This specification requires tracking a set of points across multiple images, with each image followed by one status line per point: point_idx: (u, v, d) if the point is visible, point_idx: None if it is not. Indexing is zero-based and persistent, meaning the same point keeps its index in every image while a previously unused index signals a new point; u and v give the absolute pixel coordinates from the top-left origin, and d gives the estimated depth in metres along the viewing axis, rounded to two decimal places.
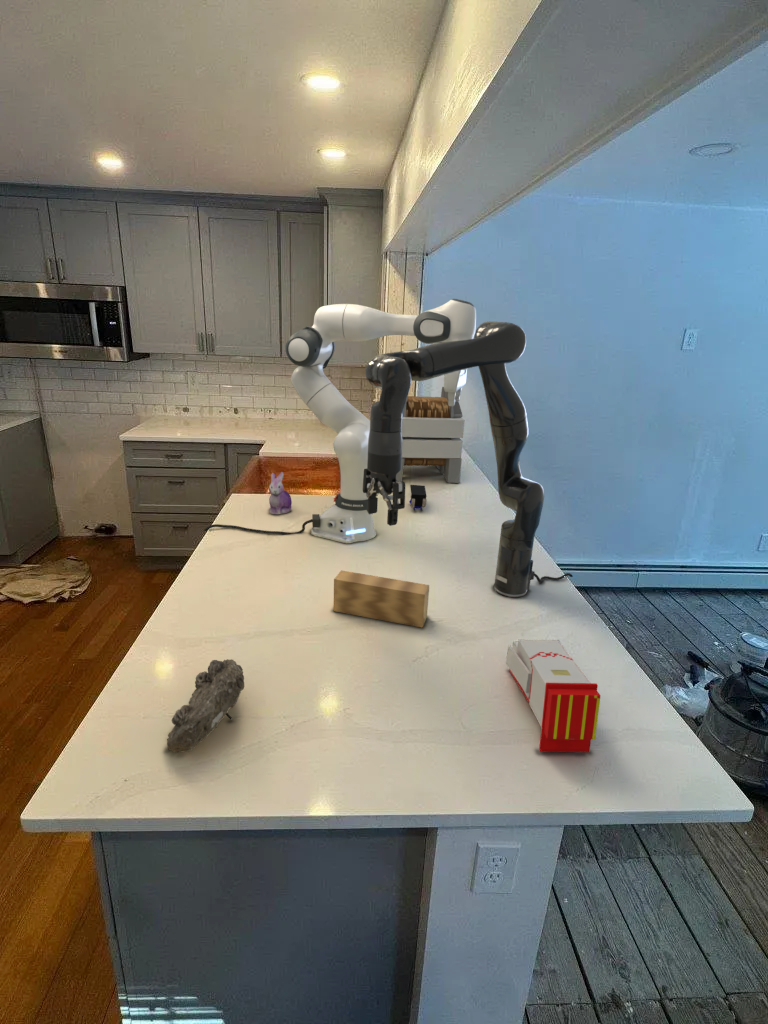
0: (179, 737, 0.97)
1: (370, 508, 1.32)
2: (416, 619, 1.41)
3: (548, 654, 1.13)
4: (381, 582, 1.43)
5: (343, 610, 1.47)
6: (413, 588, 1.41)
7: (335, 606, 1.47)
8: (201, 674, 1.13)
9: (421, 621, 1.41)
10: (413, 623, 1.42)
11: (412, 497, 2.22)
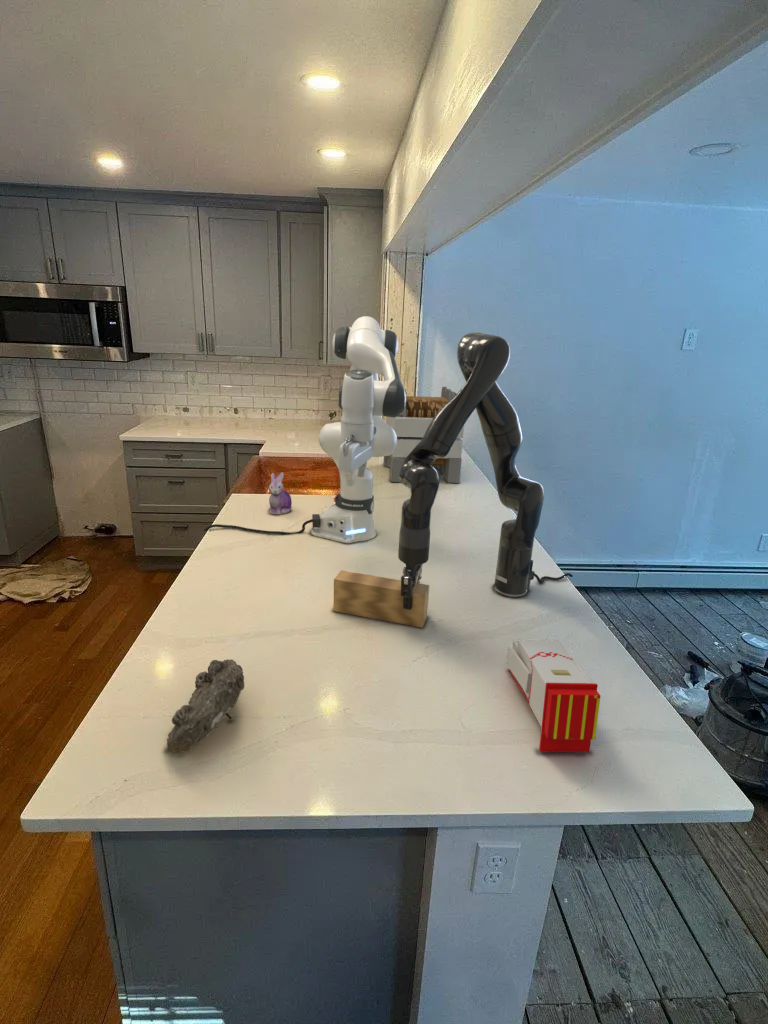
0: (179, 737, 0.97)
1: None
2: (416, 619, 1.41)
3: (548, 654, 1.13)
4: (381, 582, 1.43)
5: (343, 610, 1.47)
6: None
7: (335, 606, 1.47)
8: (201, 674, 1.13)
9: (421, 621, 1.41)
10: (413, 623, 1.42)
11: None
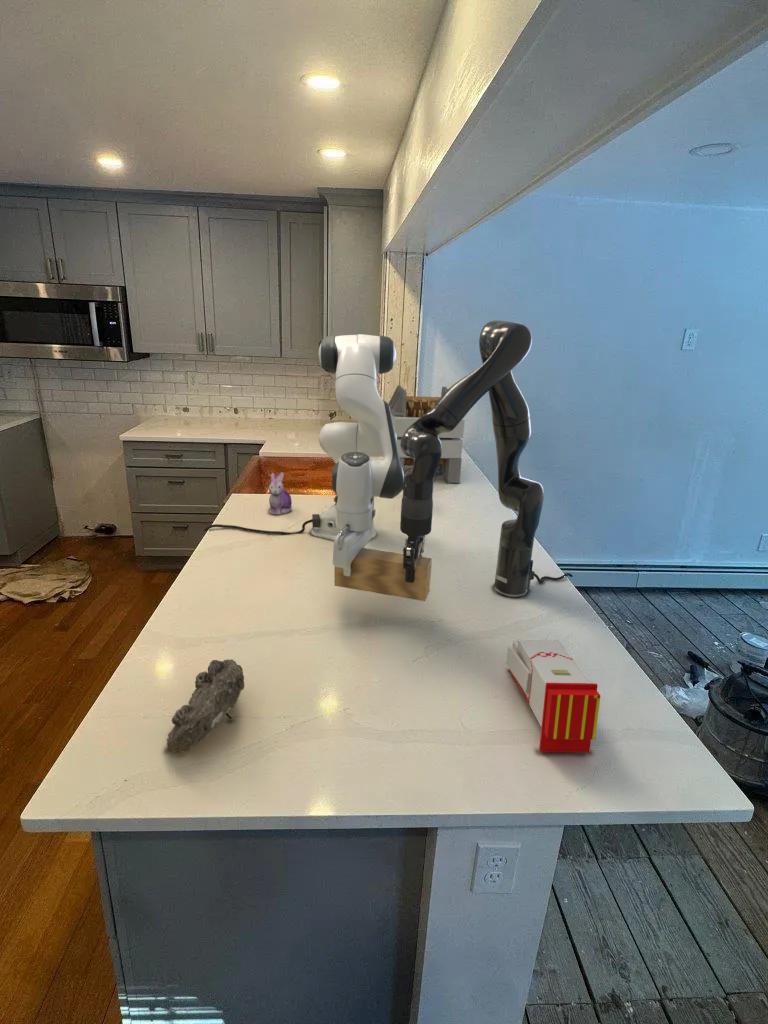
0: (179, 737, 0.97)
1: None
2: (418, 593, 1.39)
3: (548, 654, 1.13)
4: (383, 556, 1.41)
5: (345, 585, 1.44)
6: None
7: (336, 581, 1.44)
8: (201, 674, 1.13)
9: (424, 594, 1.39)
10: (416, 597, 1.39)
11: None
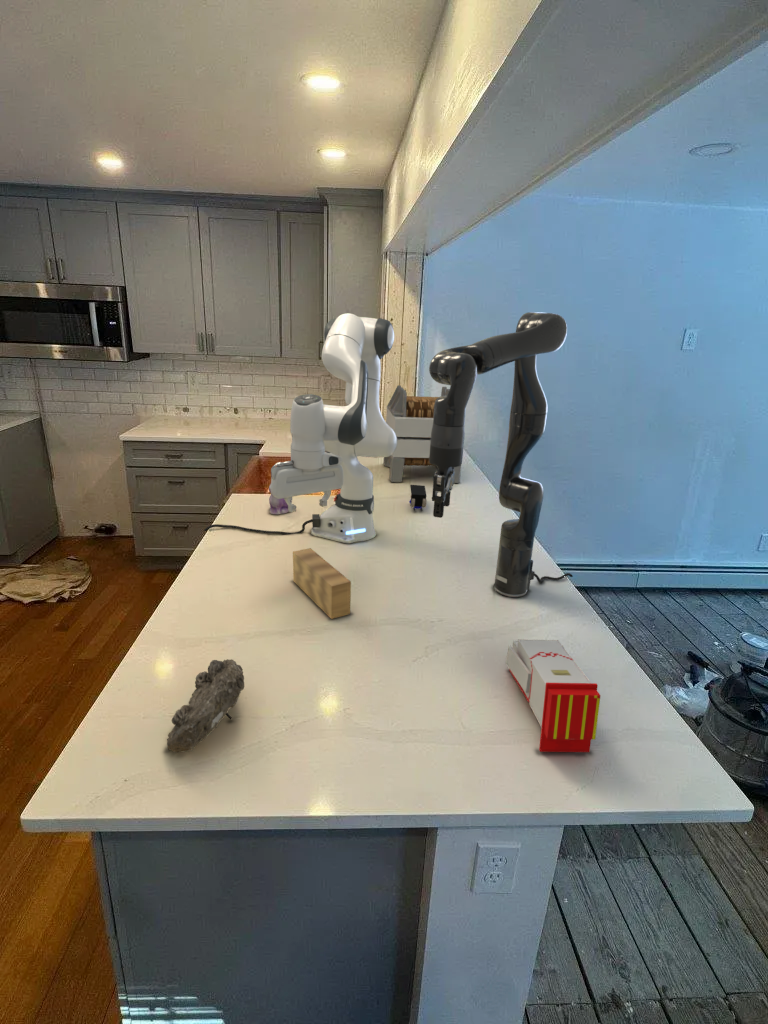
0: (179, 737, 0.97)
1: None
2: (328, 609, 1.44)
3: (548, 654, 1.13)
4: (319, 566, 1.51)
5: (297, 582, 1.60)
6: (333, 579, 1.44)
7: (293, 577, 1.61)
8: (201, 674, 1.13)
9: (330, 612, 1.43)
10: (327, 612, 1.45)
11: (412, 497, 2.22)
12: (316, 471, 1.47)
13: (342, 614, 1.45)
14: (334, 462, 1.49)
